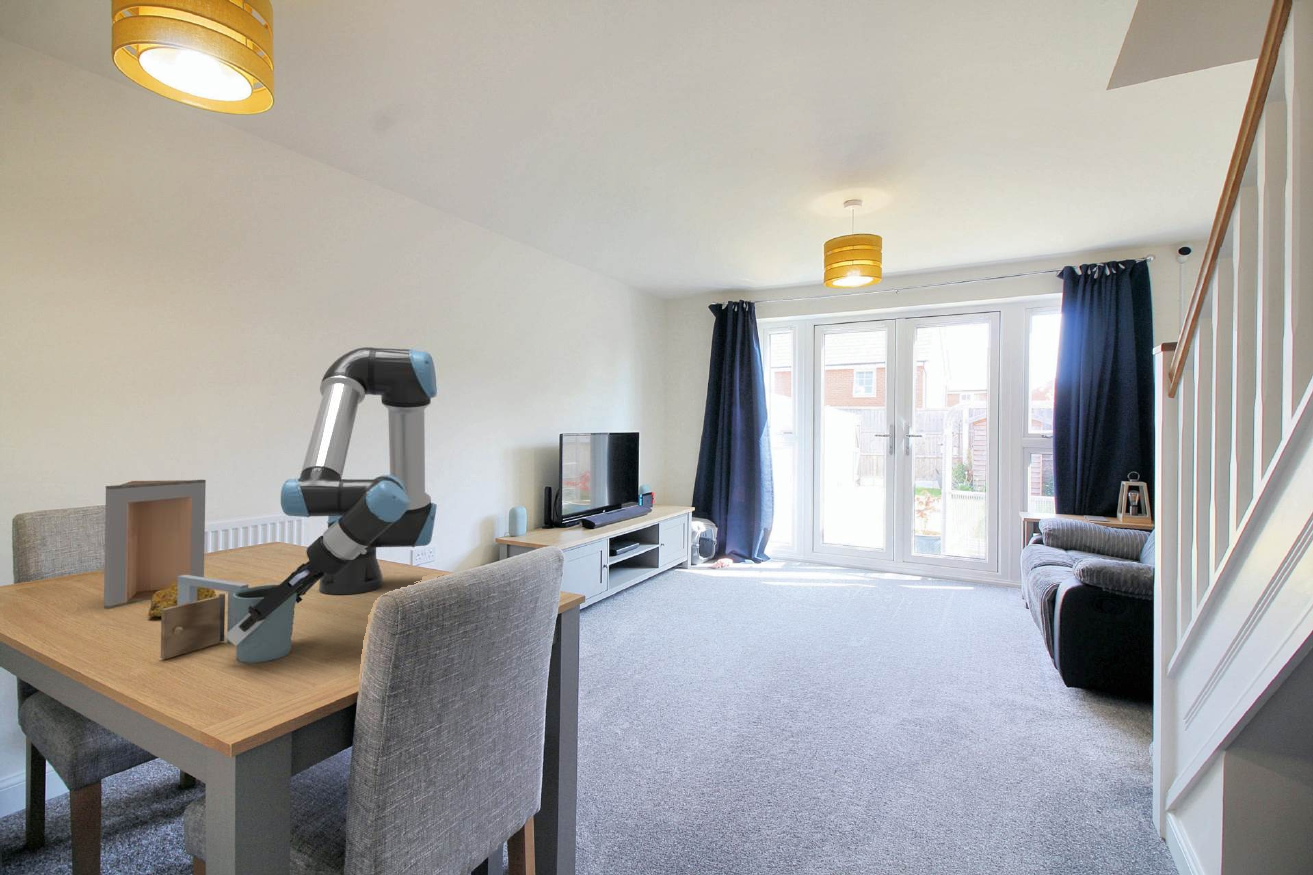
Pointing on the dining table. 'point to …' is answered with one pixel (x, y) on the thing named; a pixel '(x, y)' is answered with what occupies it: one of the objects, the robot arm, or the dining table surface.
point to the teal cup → (264, 626)
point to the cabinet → (152, 537)
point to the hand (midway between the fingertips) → (247, 630)
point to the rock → (174, 598)
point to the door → (192, 626)
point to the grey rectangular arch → (190, 584)
